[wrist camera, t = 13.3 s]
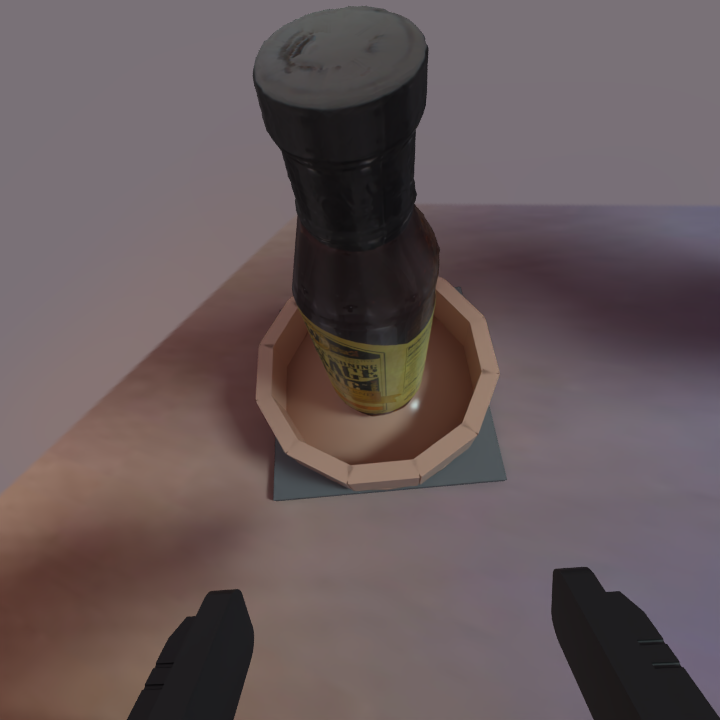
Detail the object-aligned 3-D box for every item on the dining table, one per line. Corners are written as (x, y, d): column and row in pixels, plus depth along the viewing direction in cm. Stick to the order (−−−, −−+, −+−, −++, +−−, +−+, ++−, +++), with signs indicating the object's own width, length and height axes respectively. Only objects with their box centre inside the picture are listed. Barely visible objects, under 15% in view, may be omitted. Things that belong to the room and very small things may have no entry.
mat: (459, 291, 30) (460, 286, 30) (504, 480, 23) (506, 479, 23) (281, 314, 31) (279, 310, 31) (276, 501, 25) (273, 500, 24)
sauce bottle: (317, 376, 27) (141, 54, 9) (382, 325, 28) (339, -45, 10) (376, 444, 24) (289, 177, 6) (444, 384, 25) (532, 22, 8)
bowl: (460, 286, 30) (467, 252, 26) (506, 479, 23) (525, 468, 19) (279, 310, 31) (262, 280, 27) (273, 500, 24) (249, 493, 20)
